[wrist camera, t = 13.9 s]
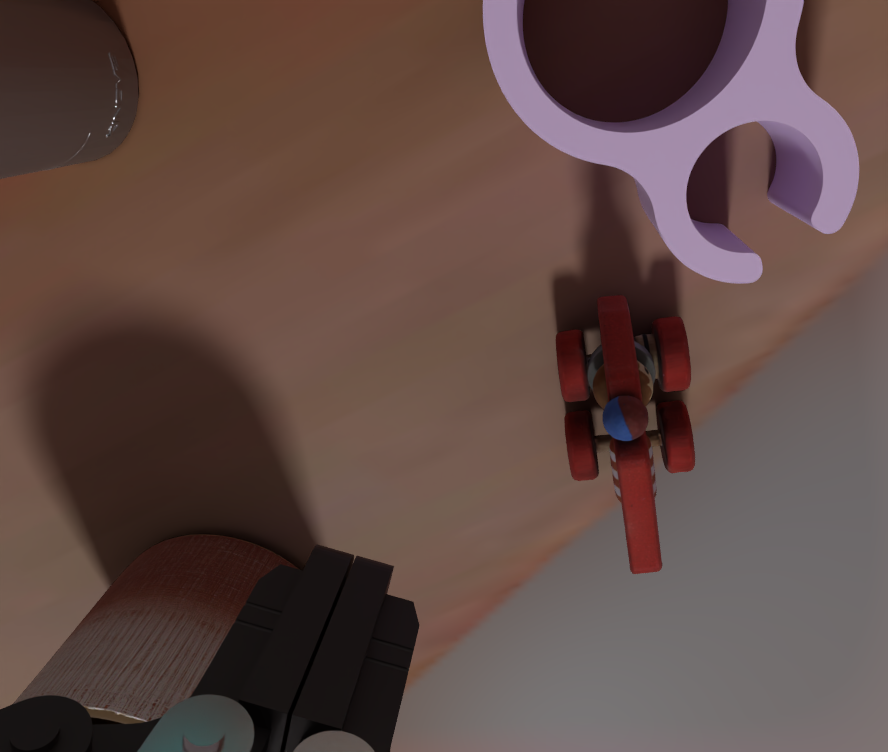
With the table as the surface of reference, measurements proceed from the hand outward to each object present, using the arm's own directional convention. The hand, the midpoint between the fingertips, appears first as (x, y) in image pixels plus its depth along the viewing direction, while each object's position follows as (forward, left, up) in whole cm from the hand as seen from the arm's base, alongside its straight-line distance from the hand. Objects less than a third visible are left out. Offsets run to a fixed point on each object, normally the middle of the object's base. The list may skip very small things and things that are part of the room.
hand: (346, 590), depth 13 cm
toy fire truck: (+10, -6, -29) cm, 32 cm away
